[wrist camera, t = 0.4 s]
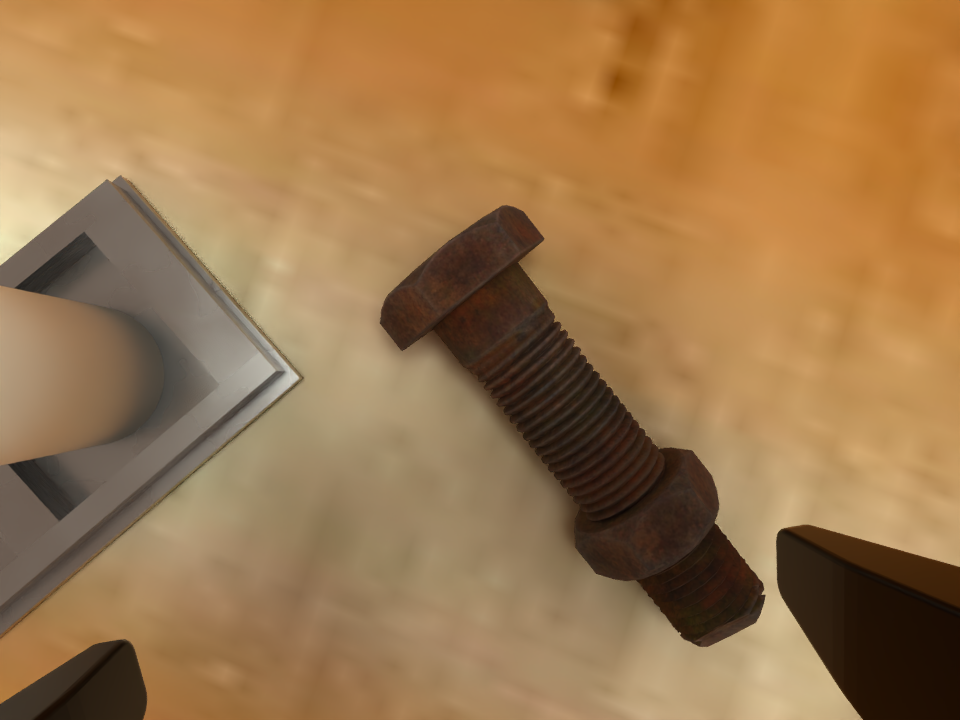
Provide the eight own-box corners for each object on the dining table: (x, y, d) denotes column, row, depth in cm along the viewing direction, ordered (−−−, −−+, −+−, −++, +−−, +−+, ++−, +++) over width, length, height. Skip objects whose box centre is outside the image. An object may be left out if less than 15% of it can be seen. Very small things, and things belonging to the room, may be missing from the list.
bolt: (666, 589, 25) (425, 284, 24) (787, 535, 22) (526, 197, 22) (657, 710, 19) (348, 325, 19) (813, 655, 17) (471, 215, 16)
